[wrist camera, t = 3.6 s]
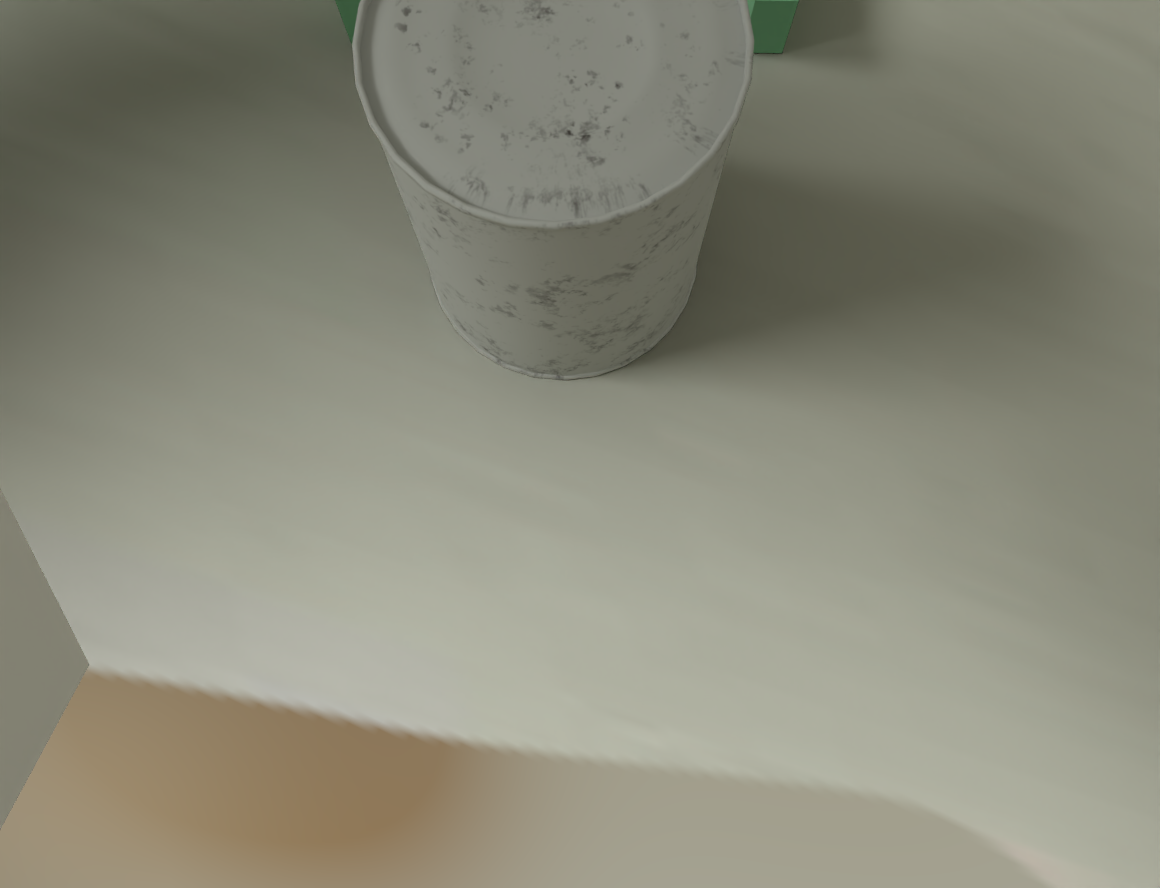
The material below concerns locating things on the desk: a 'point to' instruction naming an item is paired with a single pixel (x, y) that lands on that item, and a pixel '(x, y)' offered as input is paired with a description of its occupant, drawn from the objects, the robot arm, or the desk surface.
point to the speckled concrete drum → (556, 161)
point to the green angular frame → (767, 8)
